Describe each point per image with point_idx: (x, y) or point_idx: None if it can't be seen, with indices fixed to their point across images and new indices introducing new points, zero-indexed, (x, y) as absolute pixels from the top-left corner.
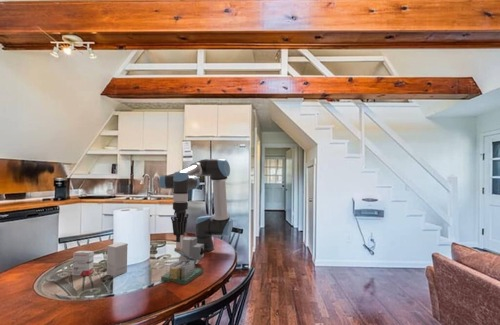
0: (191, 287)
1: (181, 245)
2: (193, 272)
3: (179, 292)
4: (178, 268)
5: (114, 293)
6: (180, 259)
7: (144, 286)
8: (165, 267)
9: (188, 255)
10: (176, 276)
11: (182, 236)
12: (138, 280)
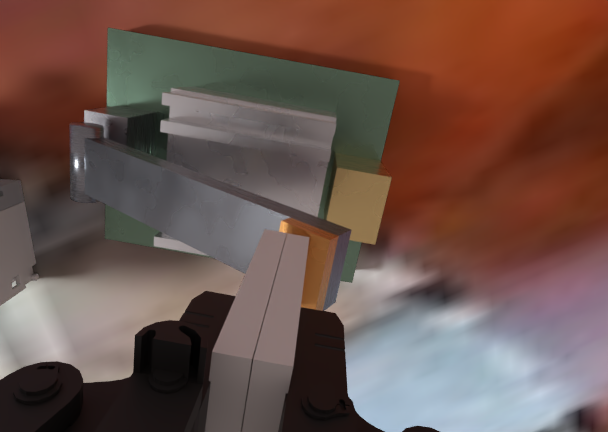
0: (441, 10)
1: (284, 250)
2: (216, 82)
3: (538, 66)
4: (365, 172)
5: (559, 416)
6: (6, 286)
7: (453, 322)
8: (118, 339)
9: (153, 161)
10: (383, 165)
11: (225, 331)
12: (367, 389)
